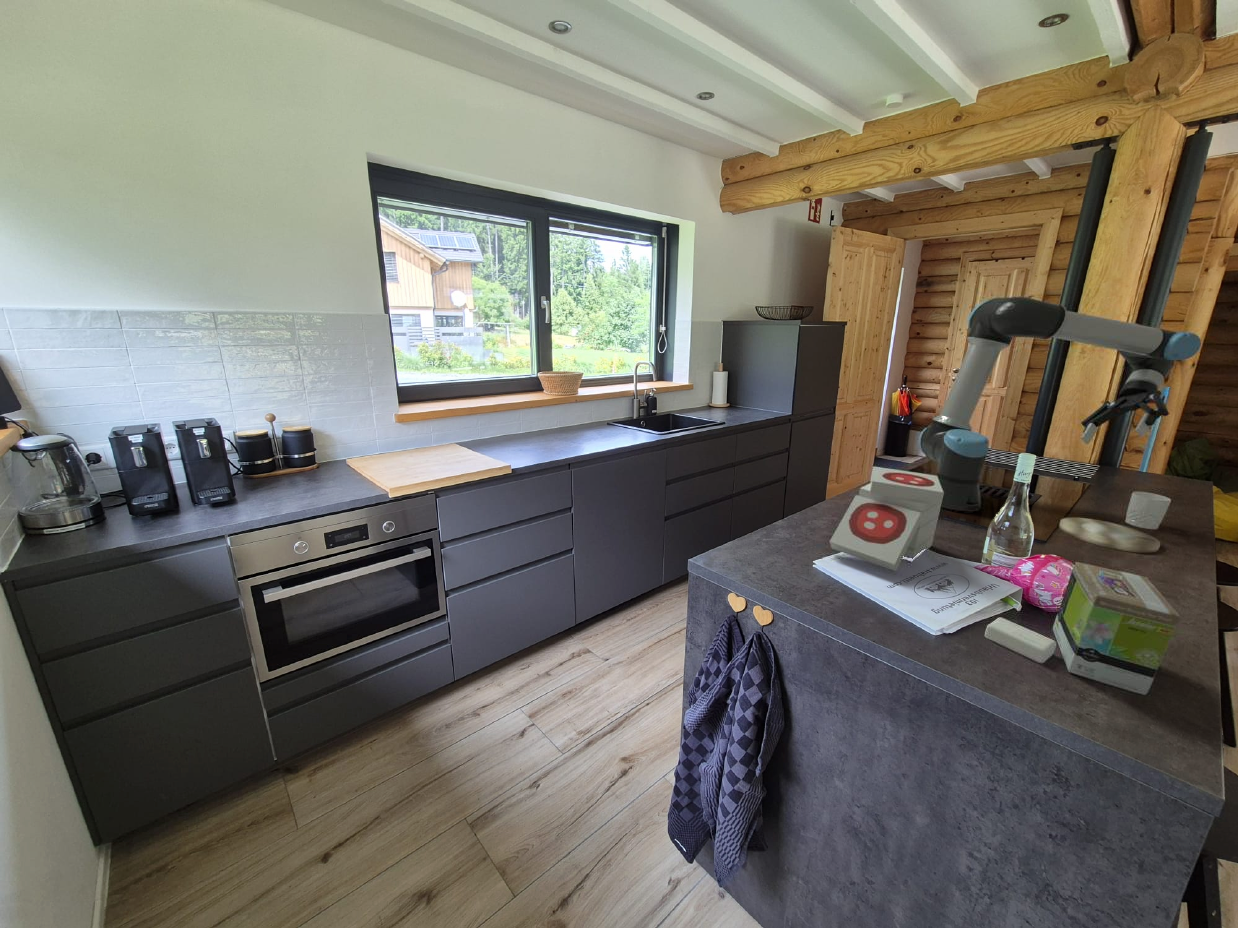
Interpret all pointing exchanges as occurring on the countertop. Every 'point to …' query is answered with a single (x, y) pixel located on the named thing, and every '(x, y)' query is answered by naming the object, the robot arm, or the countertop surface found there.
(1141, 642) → the tea box
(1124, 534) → the turntable platter
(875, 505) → the pizza boxes
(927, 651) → the countertop surface
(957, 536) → the countertop surface
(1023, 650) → the soap
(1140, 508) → the white cup
